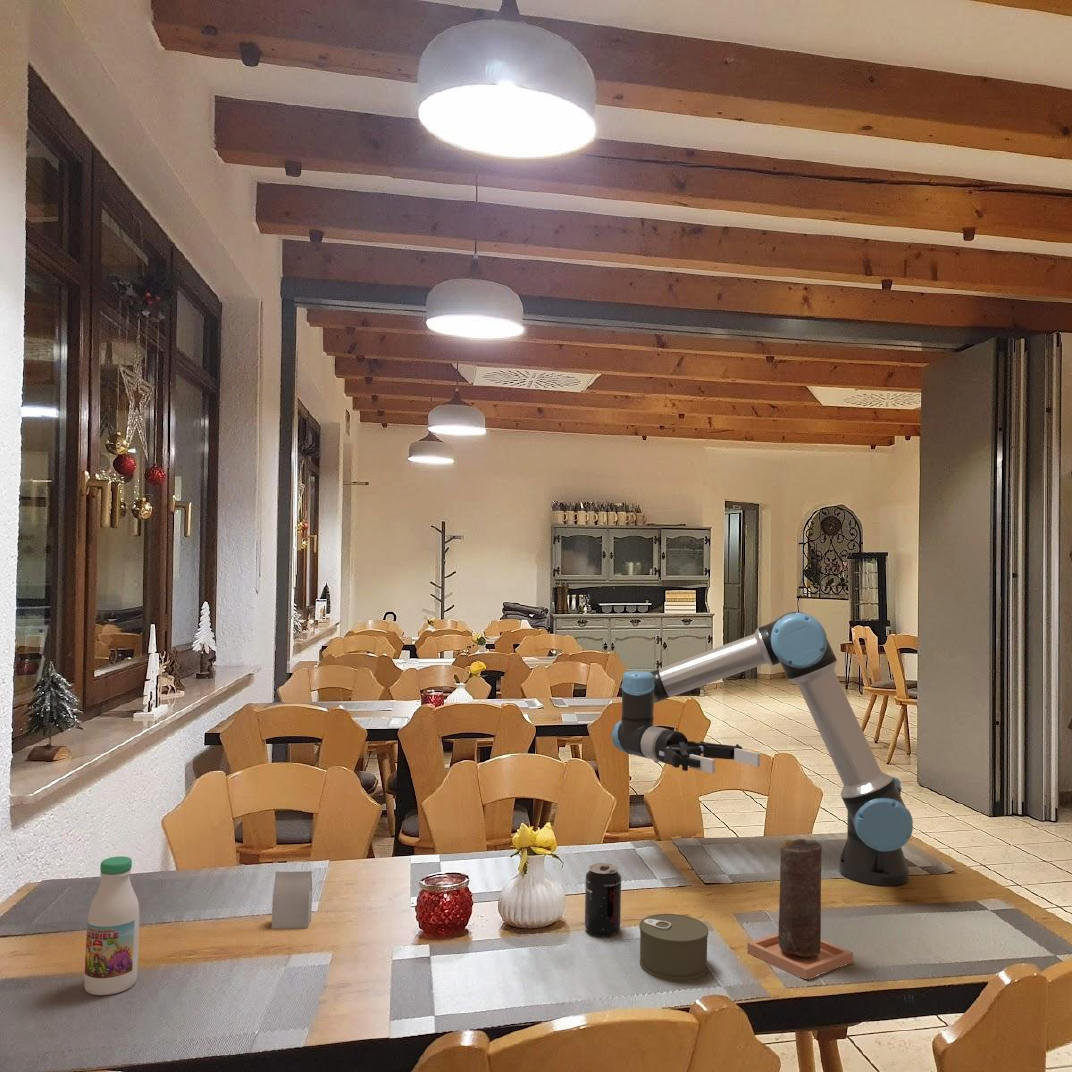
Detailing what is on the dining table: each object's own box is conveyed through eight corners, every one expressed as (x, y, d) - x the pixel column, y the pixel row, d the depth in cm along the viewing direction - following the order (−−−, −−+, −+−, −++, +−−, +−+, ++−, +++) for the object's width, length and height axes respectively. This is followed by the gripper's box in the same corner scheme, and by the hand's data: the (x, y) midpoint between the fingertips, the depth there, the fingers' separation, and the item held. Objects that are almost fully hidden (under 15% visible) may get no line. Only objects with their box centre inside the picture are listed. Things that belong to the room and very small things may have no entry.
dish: (793, 937, 167) (793, 927, 167) (852, 962, 156) (853, 952, 156) (747, 952, 159) (747, 942, 159) (806, 980, 149) (806, 969, 149)
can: (693, 988, 145) (693, 946, 145) (627, 970, 151) (628, 930, 151) (717, 962, 155) (718, 923, 155) (655, 946, 161) (655, 908, 162)
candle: (823, 965, 153) (824, 849, 154) (779, 960, 155) (781, 846, 156) (818, 947, 161) (818, 837, 162) (776, 943, 162) (777, 834, 163)
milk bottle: (95, 975, 145) (101, 852, 146) (144, 974, 145) (149, 852, 146) (75, 997, 137) (81, 867, 138) (126, 996, 138) (132, 867, 139)
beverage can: (625, 928, 169) (626, 865, 170) (613, 941, 163) (614, 876, 163) (592, 921, 172) (593, 860, 173) (579, 934, 166) (580, 870, 166)
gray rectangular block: (307, 928, 166) (309, 874, 166) (271, 928, 165) (273, 875, 166) (311, 920, 169) (312, 868, 170) (275, 921, 169) (277, 868, 169)
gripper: (704, 757, 205) (776, 775, 188) (623, 768, 191) (693, 788, 174) (704, 725, 206) (776, 739, 188) (624, 733, 191) (693, 750, 174)
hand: (736, 763), depth 181 cm, fingers open, 13 cm apart
